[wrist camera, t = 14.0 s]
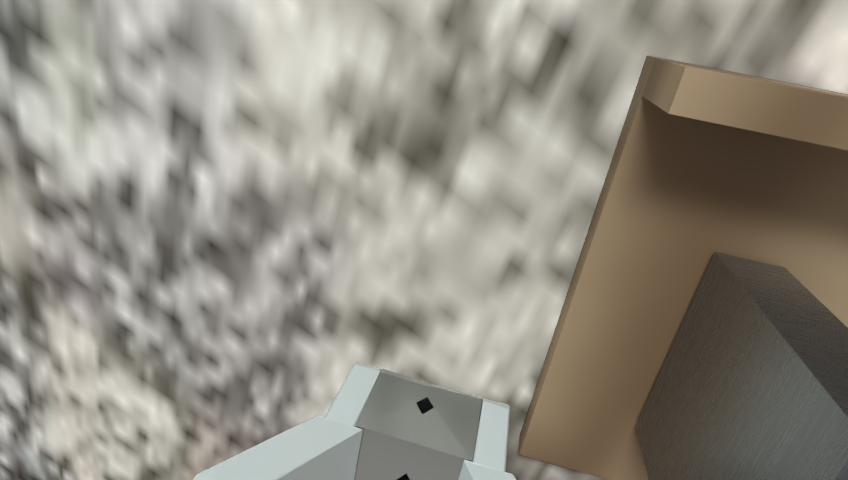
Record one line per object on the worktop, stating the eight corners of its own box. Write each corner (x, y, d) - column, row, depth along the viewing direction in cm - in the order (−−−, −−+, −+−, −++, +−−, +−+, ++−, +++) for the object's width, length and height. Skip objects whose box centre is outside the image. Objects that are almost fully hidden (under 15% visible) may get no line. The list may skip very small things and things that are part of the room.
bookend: (635, 426, 14) (698, 671, 9) (714, 251, 12) (864, 437, 7) (693, 442, 14) (794, 700, 9) (785, 267, 12) (997, 472, 7)
